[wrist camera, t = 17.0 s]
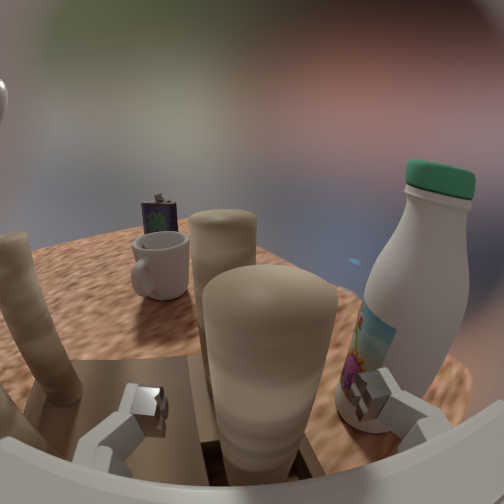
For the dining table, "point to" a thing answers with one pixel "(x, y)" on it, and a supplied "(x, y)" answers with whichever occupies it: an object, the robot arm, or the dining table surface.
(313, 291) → the loose leg
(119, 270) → the dining table surface
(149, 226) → the flask
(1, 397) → the stool
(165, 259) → the cup
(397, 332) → the milk bottle
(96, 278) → the dining table surface
